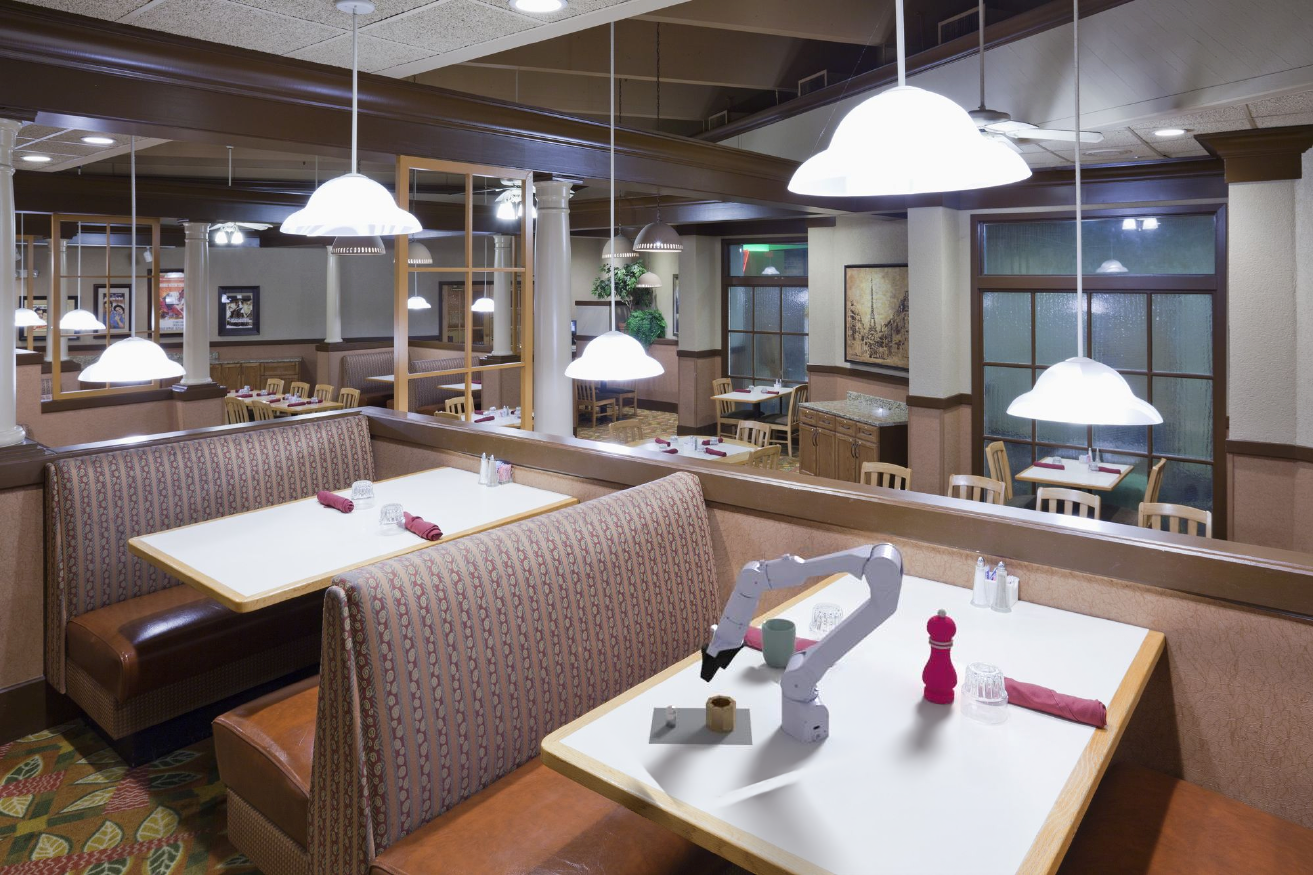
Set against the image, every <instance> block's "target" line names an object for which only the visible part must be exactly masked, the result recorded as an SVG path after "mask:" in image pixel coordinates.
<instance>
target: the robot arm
mask: <svg viewBox="0 0 1313 875" xmlns="http://www.w3.org/2000/svg"><path fill="white" fill-rule="evenodd" d="M790 554H791V553H784V554H783V555H782V556H781V558H776V559H771V560H766V559H764V558H763V559H759V561H756V560H752V561H749V562H747V563H746V564H745V565H744V566H743V567H742V568H741V570H740V572H739V573H738V575H737V577H736V581H735V582H736V584H735V585H734V588H733V591H732V592H731V593H730V596H729V598H728V601H727V602H726V605H725V608H724V609H723V613H722V615H721V617H720V619H719V622H718V625H717V624H713V625H711V626H710V627H709V630H710V631H711V632H713V635H712V639H711V642H710V643H708V642H704V644H702V645H701V647H700V653H701V661H702V662H701V667H700V675H699V677H700V679H702V680H704V681H705V682H706V683H708V684H709V683H710V682H711V681H712V680H713V679H714V677H715V676H716V674H717V672H718V671H719V669H720V668H721V669H722V670H726V669H727V668H728V667H729V666H730V664H731V662H733V660H734V658H735V657H736V656H737V654H738V653H739V652H740V651H741V650H742V649H744V648H745V647H746V646H747V645H748V641H747V640H746V639H744V638H745V636H746V634H747V632H748V629H749V627H750V625H751V623H752V619H753V618H754V615H755V613H756V610H757V608H758V606H759V602H760V601H759V600H760V598H761V596H762V595H763V594H764V593H765V591H775V590H781V589H786V588H792V587H797V586H802V585H804V583H805V582H806V580H807V578H814V577H819V576H828V575H834V574H841V573H842V574H843V573H848V574H850V575H851V576H853V577H854V578H856V579H858V581H859V580H860V581H862V580H863V576H864V577H865V580H866V583H867V584H868V587H869V589H870V590H869V591H870V592H869V594H870V597H869V598H867V600H866V601H864V602H863V603H861V605H859V606H858V607H857V608H856V609H855V610H853V611H852V612H851V613H850V614H849V615H848V616H847V617H846V618H845V619H844V620H842V621H841V622H840V623H839V624H838V625H836V626H835V627H834V628H833V629H831V630H830V632H828V633H827V634H825V636H823V637H822V639H820V640H819V641H818V642H817V643H815V644H812V645H809V646H808V647H806V648H805V649H803V650H800V651H795V653H794V654H793V655H791V657H790V658H789V660H788V665H787V667H785V670H784V672H783V674H782V676H781V677H780V682H779V683H780V689H781V729H782V731H784V732H785V733H786V734H788V735H791V736H793V737H794V738H795V739H797V740H798V741H800V742H801V743H803V744H804V745H805V744H809V743H810V742H814V741H815V742H817V741H820V740H821V739H823V738H828V737H829V735H830V729H829V728H830V727H829V726H830V725H829V724H830V722H829V721H830V720H829V719H830V713H829V710H828V708H827V706H826V705H825V704H824V703H823V702H822V700H821V698H820V695H819V688H818V686H817V684H818V683H819V682H820V681H821V680H822V679H823V677H824V676H825V674H826V673H827V671H828V670H829V669H830V668H831V667H832V666H833V665H834V664H836V663H837V662H839V660H840V659H842V658H843V657H844V656H845V655H846V654H847V653H849V652H850V651H851V650H852V649H854V648H855V647H856V646H857V645H858V644H860V643H861V642H862V641H863V640H865V639H866V638H867V637H868V636H869V635H870V634H871V633H873V632H874V631H875V630H876V629H877V628H878V627H879V626H881V625H882V624H883V623H885V622H886V621H888V619H889V618H890V617H892V616H893V615H894V614H895V613H896V611H897V610H898V604H899V601H900V596H901V595H900V594H901V589H902V586H903V578H904V571H905V567H904V561H903V555H902V552H901V550H900V549H899V548H898V547H897V546H896V545H894V544H891V543H889V542H880V543H876V544H875V545H873V544H865V545H864V544H863V545H861V546H858V547H854V548H850V549H847V550H846V549H844V550H841V551H836V552H833V553H829V554H825V555H821V556H817V557H812V558H808V559H803V558H802V557H800V556H798V555H790Z"/></svg>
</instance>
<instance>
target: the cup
mask: <svg viewBox="0 0 1313 875" xmlns="http://www.w3.org/2000/svg"><path fill="white" fill-rule="evenodd" d="M796 630H797V626H796V624H795V623H794V621H791V620H790V619H785V618H770V619H767V620H765V621H763V623H762V624H761V649H762V650H761V651H762V656H763V659H764V662H765V663H766V664H767V665H768V666H769V667H771V668H774V669H784V668H785V669H786V667H787V665H788V660H789V658H790V657H791V655H793V654H794V653H796V644H797V643H796V642H797V641H796V640H797V638H796V636H797V632H796Z"/></svg>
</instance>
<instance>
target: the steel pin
mask: <svg viewBox="0 0 1313 875" xmlns="http://www.w3.org/2000/svg"><path fill="white" fill-rule="evenodd" d="M665 708H666V726H667V727H669V728H674V727H676V726H677V711H676V708H677V707H675V706H674V705H668V706H667V707H665Z"/></svg>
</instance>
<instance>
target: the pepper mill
mask: <svg viewBox="0 0 1313 875" xmlns="http://www.w3.org/2000/svg"><path fill="white" fill-rule="evenodd" d="M926 631H927V633H928V635H929V636H928V644H929V646H930V653H929V658H928V659H927V662H926V663H925V666H924V667H923V670H922V672H921V673H922V674H921V680H922V682H923V684H924V685H925V686H924V687H923V696H924V698H925V699H926V700H927V701H929V702H931V703H934V704H941V705H945V704H946V705H947V704H951V703H952V702H954V701H955V690H954V688H956V686H957V684H958V674H957V672H956V669H955V666H954V664H953V662H952V659H951V650H952V647H953V646H954V639H953V638H954V636H956V633H957V626H956V623H955V620H953V619H952V618H951V617H950V616H947V611H946V610H945V609H943V608H941V609H938V610H937V614H936V615H933V616H931V617H930V618H928V620H927V623H926Z"/></svg>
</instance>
